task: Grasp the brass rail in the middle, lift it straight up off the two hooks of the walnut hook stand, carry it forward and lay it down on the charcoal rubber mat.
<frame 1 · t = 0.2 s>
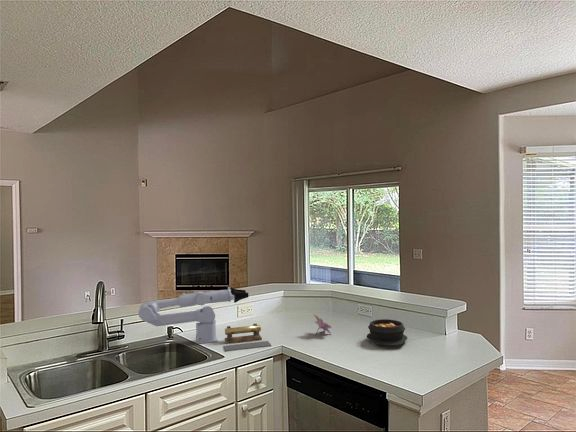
hand: (246, 293, 209), 21 cm above the worktop, tool horizontal, fingers open, 7 cm apart
lily: (322, 334, 210), on the worktop
casserole: (386, 341, 196), on the worktop
hook stand: (243, 339, 203), on the worktop
rail: (242, 329, 203), point 5 cm above the worktop, tilted 6°, touching hook stand
mat: (247, 346, 193), on the worktop
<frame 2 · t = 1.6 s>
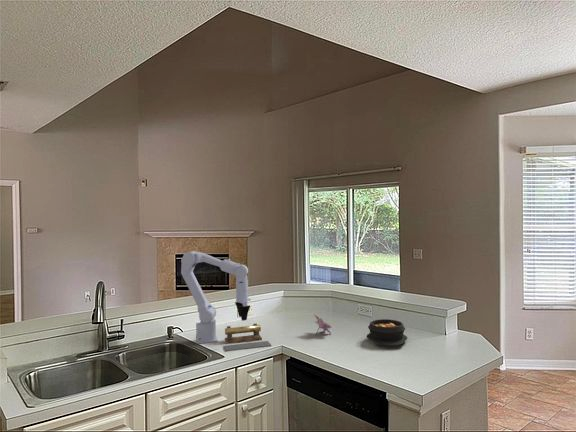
hand: (242, 318, 203), 10 cm above the worktop, tool pointing down, fingers open, 7 cm apart
rail: (242, 329, 203), point 5 cm above the worktop, tilted 13°, touching hook stand
everything else where it was.
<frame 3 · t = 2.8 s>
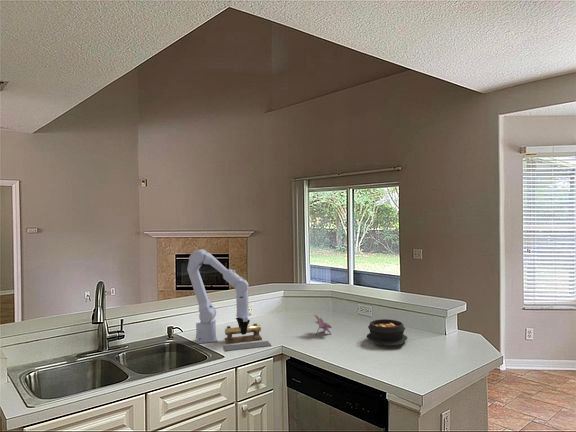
hand: (243, 333, 203), 3 cm above the worktop, tool pointing down, fingers closed on rail, 3 cm apart
rail: (243, 330, 203), point 5 cm above the worktop, touching gripper, hook stand
everything else where it was.
when the fingers open (2 cm above the worktop, at t = 7.7 s): rail drops 1 cm, resting on mat.
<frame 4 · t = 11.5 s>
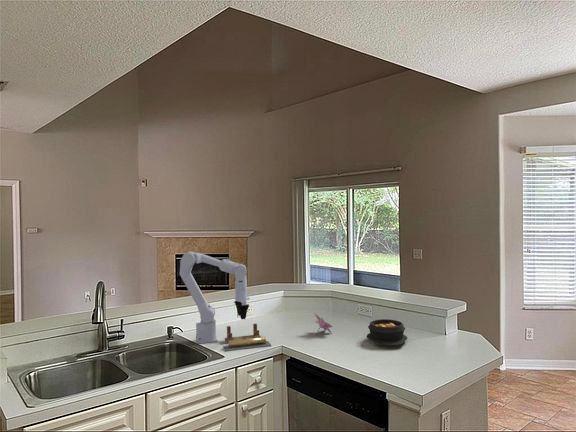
hand: (241, 317, 205), 10 cm above the worktop, tool pointing down, fingers open, 7 cm apart
rail: (247, 342, 193), point 2 cm above the worktop, tilted 11°, touching mat
at the end: rail 0.3 cm off-centre on the mat, point 1.9 cm above the mat's base; rail touching mat; the gripper is holding nothing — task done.
